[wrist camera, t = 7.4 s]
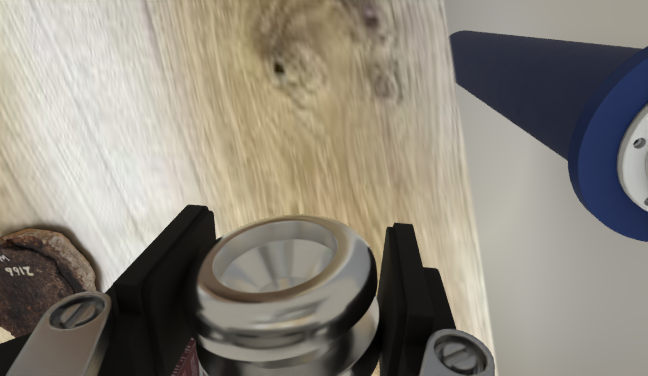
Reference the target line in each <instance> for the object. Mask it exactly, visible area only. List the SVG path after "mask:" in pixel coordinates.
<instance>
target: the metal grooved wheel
mask: <svg viewBox="0 0 648 376" xmlns="http://www.w3.org/2000/svg"><path fill="white" fill-rule="evenodd" d="M377 282H378V280H377V267H376V261H375V258H374V255H373V252H372V250H371V248H370V246H369V245H368V243H367V242H366V240H365V239H364V238H363V237H362V236H361V235H360V234H359V233H358V232H357V231H355V230H354V229H353V228H351V227H350V226H348V225H346V224H344V223H342V222H340V221H337V220H334V219H331V218H327V217H323V216H317V215H306V214H294V215H282V216H275V217H270V218H265V219H261V220H258V221H255V222H251V223H249V224H246V225H243V226H241V227H238V228H236V229H234V230H232V231H230V232H228V233H226V234H225V235H223V236H221V237H220V238H218V239H217V240H215V241H214V242H213V243H211V244H210V245H209V246H208V247H206V248H205V249H204V250H203V251H202V252H201V253H200V254H199V255H198V256H197V258H196V259H195V260H194V261H193V263H192V264H191V266H190V267H189V269H188V271H187V273H186V275H185V278H184V280H183V284H182V288H181V295H180V303H181V310H182V314H183V317H184V320H185V323H186V326H187V328H188V330H189V332H190V334H191V335H192V337H193V338H194V339H195V340H196V353H197V357H198V360H199V363H200V366H201V369H202V371H203V374H204V376H371V375H372V373H373V371H374V370H375V368H376V365H377V363H378V360H379V357H380V354H381V344H382V329H381V317H380V307H379V302H378V299H377V297H376V290H377Z"/></svg>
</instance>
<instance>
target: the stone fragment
mask: <svg viewBox="0 0 648 376" xmlns="http://www.w3.org/2000/svg"><path fill="white" fill-rule="evenodd" d="M95 277H96V276H95V273H94V271H93V269H92V267H91V266H90V264H89V262H88V261H87V260H86V258H85V257H84V256H83V255H81V254H80V252H79V251H78V250H77V249H76V248H75V247H74V246H73V245H72V244H71V243H70V241H69V240H68V239H67V238H66V237H65V236H64V235H62V234H61V233H57V232H53V231H48V230H37V229H24V230H21V231H19V232H15V233H12V234H9V235H6V236H1V237H0V327H2V328H3V329H5V330H7V331H9V332H11V335H12V336H14V337H15V338H17V337H20V336H23V335H25V334H28V333H31V332H33V331H34V329H35V327H36V326H37V324H38V323H39V321H40V319H41V318H42V316H43V315H44V313H45V312H46V311H47V310H48V309H49V308H50V307H51V306H52V305H54V304H55V303H56V302H58V301H60V300H62V299H64V298H66V297H68V296H71V295H74V294H76V293H81V292H86V291H96V287H95V283H94V281H95Z"/></svg>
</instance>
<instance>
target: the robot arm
mask: <svg viewBox="0 0 648 376" xmlns="http://www.w3.org/2000/svg"><path fill="white" fill-rule="evenodd" d="M617 174H618V179H619V183H620V185H621V187H622V189H623V191H624V192H625V194H626V195H627V196H628V197H629V198H630V199H631V200H632V201H633V202H634V203H635V204H637V205H638V206H640V207H641V208H642V209H644V210H646V211H648V103H647V104H646V105H645V106H644V107H643V108H642V109H641V110H640V111H639V113H638V114H637V115H636V116H635V118H634V119H633V121H632V122H631V124H630V125H629V126H628V128H627V130H626V132H625V134H624V136H623V138H622V140H621V143H620V147H619V151H618V154H617ZM215 240H216V234H215V222H214V213H213V212H212V211H209V210H208V207H207V206H200V205H187V206H186V207H185V208H184V209H183V210H182V211H181V212H180V213H179V214H178V216H177V217H176V218H175V219H174V220H173V221H172V222H171V223H170V224H169V225H168V226H167V227H166V228H165V229H164V230H163V231H162V232H161V233H160V235H159V236H158V237H157V238H156V239H155V240H154V241H153V242H152V243H151V244H150V245H149V246H148V247H147V248H146V249H145V250H144V251H143V252H142V254H141V255H140V256H139V257H138V258H137V259H136V260H135V261H134V262H133V263H132V264H131V265H130V266H129V267H128V268H127V269H126V270H125V271H124V273H123V274H122V275H121V276H120V277H119V278H118V279H117V280H116V281H115V282H114V283H113V285H112V286H111V287H110V288H109V289H108V290H107V291H106V292H105V293H103V292H99V291H86V292H81V293H76V294H74V295H71V296H68V297H66V298H64V299H62V300H60V301H58V302H56V303H55V304H54V305H52V306H51V307H50V308H49V309H48V310H47V311H46V312H45V313H44V315H43V316H42V318H41V319H40V321H39V323H38V324H37V326H36V327H35V329H34V331H33V332H31V333H28V334H25V335H23V336H20V337H17V338H15V339H12V340H9V341H7V342H4V343H1V344H0V376H171V374H172V373H173V371H174V369H175V367H176V365H177V364H178V362H179V360H180V358H181V356H182V354H183V352H184V351H185V349H186V347H187V345H188V343H189V341H190V339H191V338H192V335H191V334H190V332H189V330H188V328H187V326H186V323H185V320H184V317H183V314H182V310H181V303H180V295H181V288H182V284H183V280H184V278H185V275H186V273H187V271H188V269H189V267H190V266H191V264H192V263H193V261H194V260H195V259H196V258H197V256H198V255H199V254H200V253H201V252H202V251H203V250H204V249H205V248H206V247H208V246H209V245H210V244H211V243H213V242H214V241H215ZM377 299H378V302H379V307H380V317H381V329H382V344H381V354H380V357H379V363H380V376H494V374H495V364H494V359H493V356H492V354H491V353H490V351H489V349H488V348H487V347H486V346H485V345H484V344H483V343H482V342H481V341H480V340H478V339H477V338H475V337H474V336H473V335H470V334H468V333H466V332H463V331H459V330H456V326H455V323H454V320H453V316H452V313H451V310H450V306H449V303H448V300H447V296H446V293H445V290H444V286H443V283H442V280H441V276H440V273H439V271H438V269H436V268H426V267H423V265H422V261H421V257H420V253H419V249H418V245H417V240H416V236H415V232H414V228H413V225H412V224H403V223H394V225H393V227H387V229H386V236H385V244H384V251H383V258H382V266H381V273H380V280H379V288H378V295H377Z"/></svg>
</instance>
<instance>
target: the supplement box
mask: <svg viewBox="0 0 648 376" xmlns="http://www.w3.org/2000/svg"><path fill="white" fill-rule="evenodd" d="M171 376H204V374H203V371H202V369H201V366H200V363H199V360H198V357H197V353H196V340H195V339H194V338H193V337H192V338H191V339H190V341H189V343H188V345H187V347H186V349H185V351H184V352H183V354H182V356H181V358H180V360H179V362H178V364H177V365H176V367H175V369H174V371H173V373H172V374H171Z"/></svg>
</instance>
